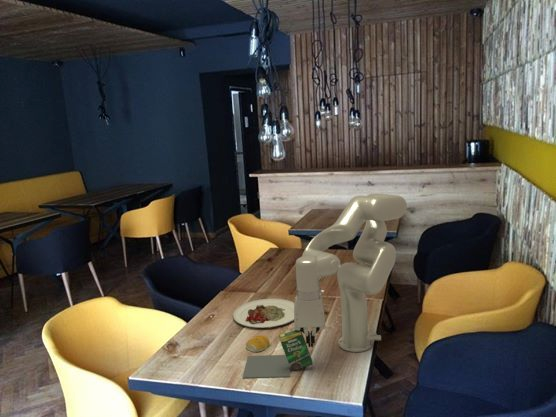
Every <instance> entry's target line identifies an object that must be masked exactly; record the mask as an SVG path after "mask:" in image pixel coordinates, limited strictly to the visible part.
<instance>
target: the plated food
mask: <svg viewBox="0 0 556 417" xmlns="http://www.w3.org/2000/svg"><path fill="white" fill-rule="evenodd" d="M294 302H295V301H294ZM294 302H293V301H292V300H288V299H283V298H261V299H256V300H252V301H249V302H245V303H243V304H241V305H240V306H238V307H237V308H236V309H235V310H234V311H233V314H232V318H233V319H234V321H235V322H236V323H237V324H239V325H242V326H244V327H249V328H258V329H259V328H262V329H263V328H274V327H279V326H283V325H286V324H288V323H291V322H293V321H294Z"/></svg>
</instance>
